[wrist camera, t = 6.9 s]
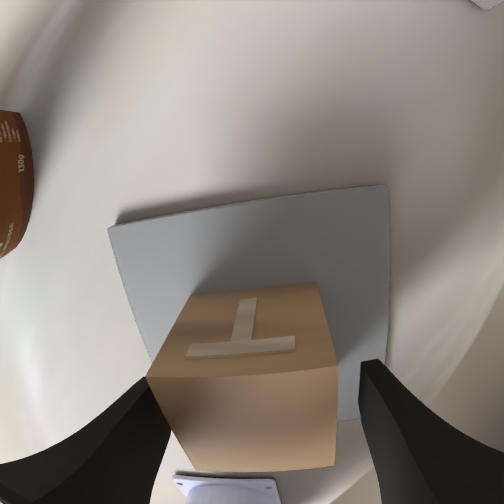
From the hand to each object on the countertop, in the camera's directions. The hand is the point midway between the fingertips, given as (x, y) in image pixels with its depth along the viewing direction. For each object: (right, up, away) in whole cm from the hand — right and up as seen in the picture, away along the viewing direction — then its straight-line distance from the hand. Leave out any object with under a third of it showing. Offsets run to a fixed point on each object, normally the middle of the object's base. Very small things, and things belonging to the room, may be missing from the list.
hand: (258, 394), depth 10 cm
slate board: (0, +1, +3) cm, 4 cm away
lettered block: (0, +1, +3) cm, 3 cm away
